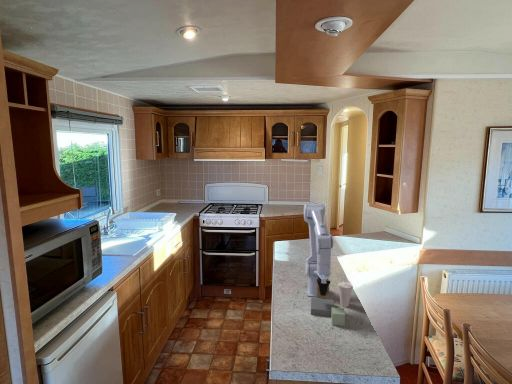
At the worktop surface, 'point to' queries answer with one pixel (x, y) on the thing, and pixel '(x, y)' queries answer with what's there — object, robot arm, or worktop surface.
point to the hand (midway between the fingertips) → (322, 292)
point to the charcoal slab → (321, 306)
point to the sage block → (338, 316)
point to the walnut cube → (319, 293)
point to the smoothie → (345, 292)
